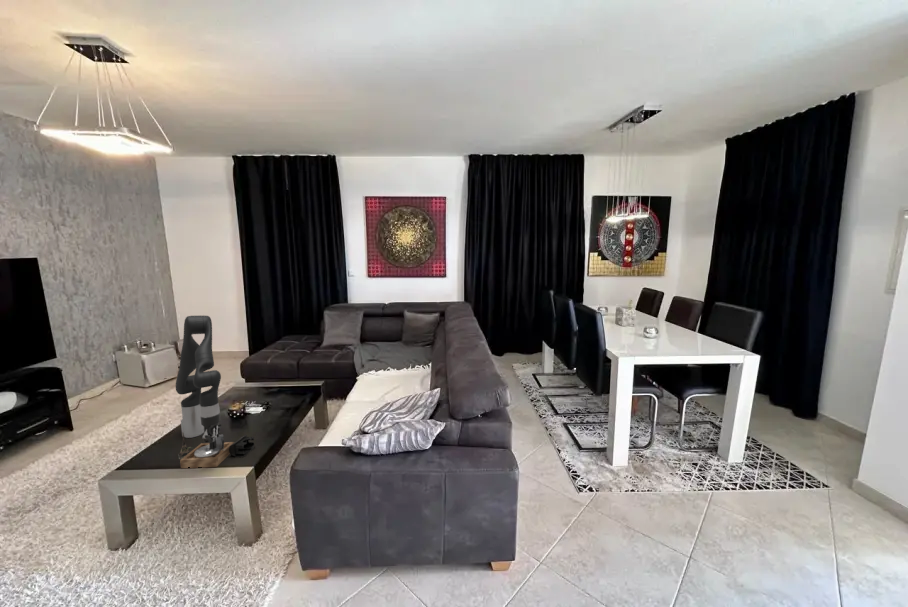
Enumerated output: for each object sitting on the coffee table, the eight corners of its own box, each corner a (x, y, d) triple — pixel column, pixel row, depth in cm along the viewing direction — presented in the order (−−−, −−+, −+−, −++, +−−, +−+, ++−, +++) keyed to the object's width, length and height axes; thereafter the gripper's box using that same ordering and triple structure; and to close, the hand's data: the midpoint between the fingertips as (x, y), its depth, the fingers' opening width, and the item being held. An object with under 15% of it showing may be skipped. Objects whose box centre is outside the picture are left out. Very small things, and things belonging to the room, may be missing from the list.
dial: (189, 460, 173) (187, 441, 172) (203, 448, 184) (202, 431, 183) (217, 458, 174) (215, 440, 173) (229, 447, 185) (228, 430, 184)
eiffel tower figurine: (182, 464, 175) (180, 438, 173) (163, 464, 176) (160, 437, 174) (206, 449, 190) (204, 424, 188) (188, 448, 190) (185, 423, 189)
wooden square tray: (180, 468, 171) (180, 459, 170) (201, 450, 187) (201, 442, 186) (216, 466, 172) (216, 458, 171) (234, 449, 188) (234, 441, 187)
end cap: (241, 447, 190) (241, 434, 190) (255, 447, 190) (254, 434, 189) (229, 457, 180) (228, 444, 180) (243, 457, 180) (242, 444, 179)
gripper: (210, 408, 177) (213, 442, 179) (192, 419, 164) (196, 456, 166) (226, 407, 178) (229, 441, 180) (210, 419, 165) (213, 455, 167)
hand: (213, 448), depth 173 cm, fingers closed
